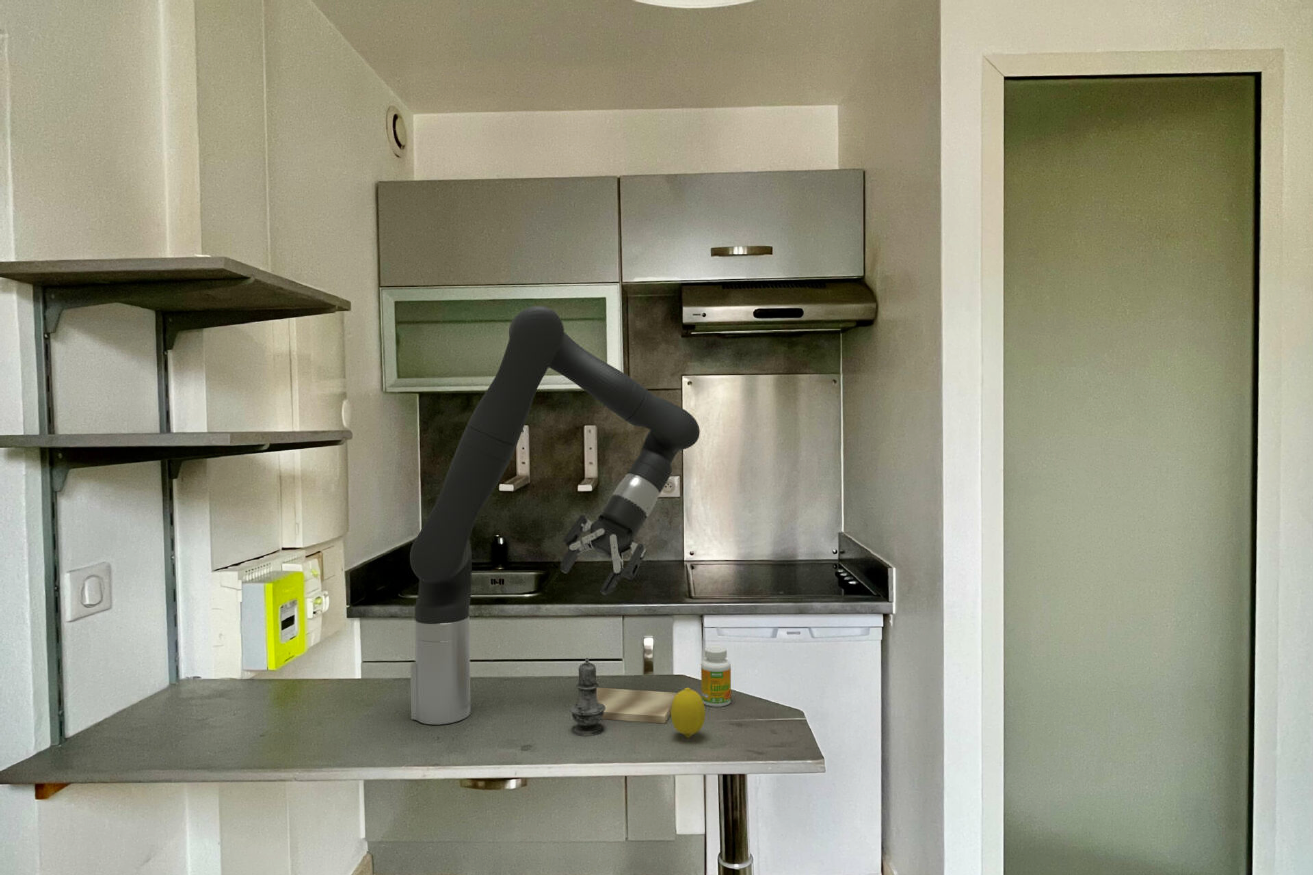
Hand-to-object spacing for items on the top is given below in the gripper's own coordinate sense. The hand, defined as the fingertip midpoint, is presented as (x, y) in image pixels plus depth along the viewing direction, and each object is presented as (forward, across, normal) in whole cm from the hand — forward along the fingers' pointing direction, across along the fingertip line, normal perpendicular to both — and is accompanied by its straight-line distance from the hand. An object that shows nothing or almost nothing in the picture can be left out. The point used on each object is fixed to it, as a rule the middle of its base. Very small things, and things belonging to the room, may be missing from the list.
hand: (583, 582), depth 132 cm
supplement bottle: (+4, +26, +22) cm, 34 cm away
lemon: (+13, +27, +8) cm, 31 cm away
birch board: (+13, +13, +17) cm, 25 cm away
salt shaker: (+20, +12, +8) cm, 24 cm away
